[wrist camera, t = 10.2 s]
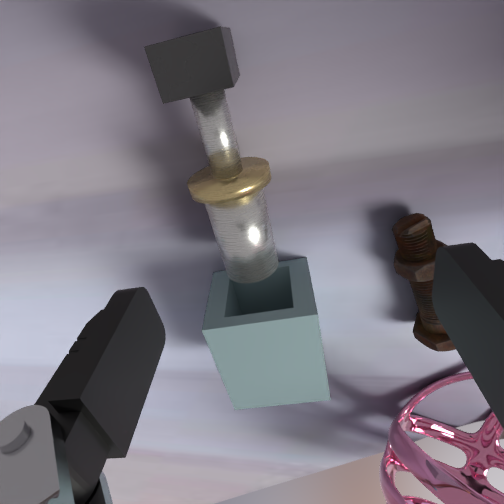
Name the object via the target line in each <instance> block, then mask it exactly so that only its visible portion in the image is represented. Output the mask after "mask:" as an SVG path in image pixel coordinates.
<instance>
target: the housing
mask: <svg viewBox="0 0 504 504" xmlns="http://www.w3.org/2000/svg"><path fill="white" fill-rule="evenodd" d="M202 332H203V335H204V337H205V339H206V342H207V344H208V347H209V349H210V351H211V354H212V356H213V359H214V361H215V363H216V366H217V368H218V371H219V373H220V375H221V378H222V380H223V383H224V385H225V387H226V390H227V392H228V395H229V397H230V399H231V402H232V404H233V407H234V409H235V410H239V409H249V408H259V407H268V406H278V405H288V404H297V403H307V402H317V401H326V400H331V399H330V392H329V386H328V379H327V372H326V366H325V359H324V352H323V346H322V339H321V332H320V326H319V319H318V313H317V308H316V303H315V298H314V293H313V288H312V283H311V277H310V272H309V267H308V262H307V257H306V258H300V259H293V260H287V261H281V262H279V265H278V268H277V269H276V271H275V272H274V273H273V274H272V275H271V276H269V277H267V278H266V279H264V280H261V281H258V282H254V283H237V282H235V281H232V280H231V279H230V278H229V277H228V275H227V272H226V271H219V272H213V277H212V282H211V287H210V292H209V297H208V302H207V307H206V312H205V317H204V322H203V327H202Z"/></svg>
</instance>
